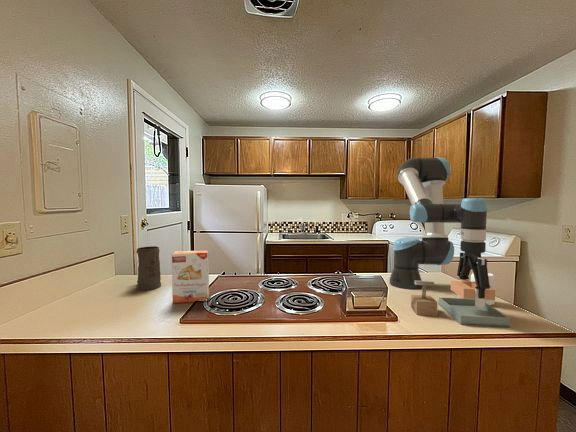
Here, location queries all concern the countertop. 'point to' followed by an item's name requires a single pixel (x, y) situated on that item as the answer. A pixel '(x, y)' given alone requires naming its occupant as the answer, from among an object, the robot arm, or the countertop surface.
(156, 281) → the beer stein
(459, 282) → the orange square frame
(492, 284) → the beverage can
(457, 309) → the tray
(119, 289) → the countertop surface
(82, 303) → the countertop surface
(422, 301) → the block
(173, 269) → the cracker box
